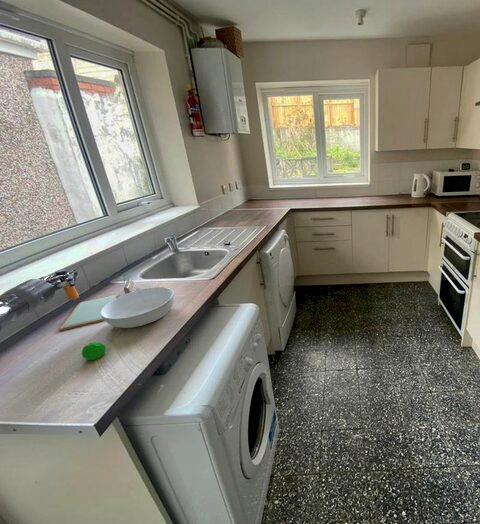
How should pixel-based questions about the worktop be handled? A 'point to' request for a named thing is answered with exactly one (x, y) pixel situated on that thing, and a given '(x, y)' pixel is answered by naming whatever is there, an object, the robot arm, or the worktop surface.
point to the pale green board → (87, 313)
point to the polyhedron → (93, 351)
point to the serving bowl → (138, 307)
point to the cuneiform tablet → (129, 286)
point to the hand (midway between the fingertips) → (69, 272)
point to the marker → (68, 287)
